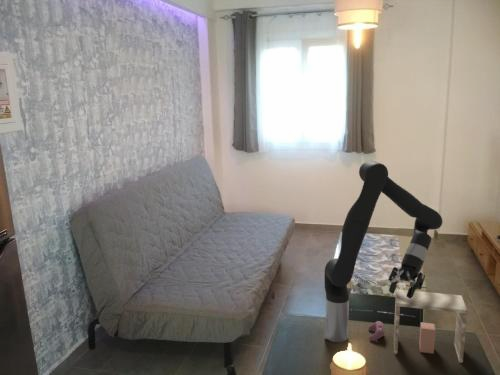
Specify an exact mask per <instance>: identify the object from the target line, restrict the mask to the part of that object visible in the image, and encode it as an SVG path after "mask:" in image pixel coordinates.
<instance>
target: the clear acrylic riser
mask: <svg viewBox="0 0 500 375" xmlns="http://www.w3.org/2000/svg"><path fill="white" fill-rule="evenodd" d="M408 290H409V289H399V288H396V289H395V302H394V304H395V305H394V321H393V323H394V324H393V353H394V355H398V353H399V352H398V351H399V350H398V349H399V332H400V315H401V314H400V312H401V307H403V308H413V309H420V310H421V309H422V310H432V311H439V312H449V313H456V319H455V332H454V341H453V346H454V349H455V352H456V356H457V359H458V363H460V364H464V352H465V351H464V350H465V342H466V329H467V318H468V309H467V306H466V304H465V301H464V298H463V295H462V294H461V295H460V294H459V295H458V294H449V293H440V292H428V291H418V290H415V292H414V295H413V297H412V298H411V299H410V298H408V297H407V296H406V295H407V293H408Z"/></svg>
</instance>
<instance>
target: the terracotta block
mask: <svg viewBox="0 0 500 375" xmlns="http://www.w3.org/2000/svg"><path fill="white" fill-rule="evenodd" d="M419 327H420V328H419V340H418V341H419V343H418V346H419V348H418V349H419V352H420V353H426V354H435V342H436V340H435V339H436V326H435V323H429V322H420V326H419Z"/></svg>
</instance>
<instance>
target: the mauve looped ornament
mask: <svg viewBox="0 0 500 375" xmlns="http://www.w3.org/2000/svg"><path fill="white" fill-rule="evenodd" d="M384 329H385V328H384V323H383V322H382V321H379V320H377V321H375V322H374V323H372V324H370V325H369V326H368V329H367V330H369V331H370V332H373V331H375V332H374V333H373V334H371V335H370V336H369V341H370V342H375V341H377V340H379V339H381V338H382V337H383V336H385V330H384Z"/></svg>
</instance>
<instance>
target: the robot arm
mask: <svg viewBox="0 0 500 375" xmlns="http://www.w3.org/2000/svg"><path fill="white" fill-rule="evenodd" d="M358 174H359V177H360V179H361V180H362V181H363V185H362V188H361V191H360V193H359V196H358V198H357V199H356V200H355V202H354V203H353V204H352V206H351V207H350V208H349V211H348V212H347V214H346V217H345V219H344V223H343V225H342V229H341V240H340V241H341V243H340V244H341V245H340V252H339V255H338V256H337V258H331V259H329V261H327V262H326V265H325V267H324V291H325V316H324V339H325V340H328V341H329V342H333V343H343V342H346V341H347V340H348V338H349V312H350V311H349V310H350V309H349V308H350V307H349V306H350V293H349V289H348V286H347V285H348V284H349V283H350V282H352V279H353V275H354V271H355V267H356V264H357V260H358V256H359V253H360V251H361V248H362V244H363V242H364V240H365V237H366V234H367V231H368V228H369V225H370V223H371V220H372V217H373V213H374V211H375V209H376V206H377V203H378V200H379V199H380V198H379V197H380V196H381V193H382V194H384V195H385V196H386V197H387V198H388V199H390V200H391V201H392V202H393V203H394V204H395V205H397V207H398V208H400V209H401V210H402V211H403V212H404V213H406V214H407V215H408V217H411V218H415V220H414V226H413V234H412V238H411V240H410V243H409V245H408V247H407V249H406V251H405V253H404V256H403V258H402V261H401V264H400V265H401V266H400V268H398V267H396V266H394V267H393V268H392V270H391V272H390V274H389V277H388V281H390V282H391V284H390V287H389V288H388V292H389V293H390V294H393V295H394V294H395V293H396V289H397V287H398V286H397V285H399V284H400V283H403V282H408V283H409V286H410V287H409V288H408V289H407V290H408V293H407V295H406V296H407V297H408V298H410V299H411V298H412V297H413V295H414V292H415V291H417V290H421V289H422V288H423V284H424V281H425V278H426V275H425V274H424V273H423V272H421V271H422V268H423V265H424V263H425V261H426V260H425V259H426V257H427V253H428V250H429V247H430V245H431V243H432V237H431V236H430V234H428V232H429V230H438V229H440V228H441V227H442V225H443V218H442V216H441V214H440V213H439V212H438V211H436V210H435V209H434V208H432V207H430V206H428V205H426V204H424V203H423V202H422V201H420V200H419V199H418V198H417V197H415V195H413V194H412V193H410V192H409V191H408V190H406V189H405V188H403V187H402V186H400V184H398V183H396V182H395V181H394V180H392V179H391V178H390V177H389V170H388V168H387V166H386V165H384V164H383V163H381V162H378V161H374V160H366V161H364V162H363V163H362V164H360V166H359V169H358Z"/></svg>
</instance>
